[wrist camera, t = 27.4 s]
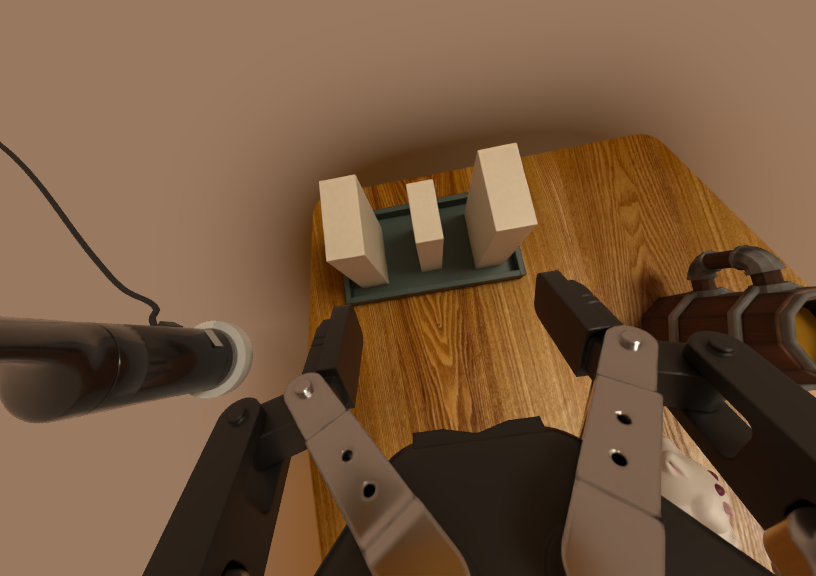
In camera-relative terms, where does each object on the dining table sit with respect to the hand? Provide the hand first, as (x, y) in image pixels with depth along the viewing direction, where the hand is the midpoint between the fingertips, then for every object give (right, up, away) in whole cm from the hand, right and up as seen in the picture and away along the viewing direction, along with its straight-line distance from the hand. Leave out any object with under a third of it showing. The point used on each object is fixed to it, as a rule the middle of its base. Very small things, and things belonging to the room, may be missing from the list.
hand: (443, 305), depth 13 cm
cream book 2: (+10, +8, +31) cm, 33 cm away
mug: (+35, -4, +27) cm, 45 cm away
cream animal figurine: (+29, -25, +23) cm, 45 cm away
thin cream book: (+1, +7, +31) cm, 32 cm away
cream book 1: (-7, +5, +32) cm, 33 cm away
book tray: (+1, +7, +32) cm, 33 cm away
